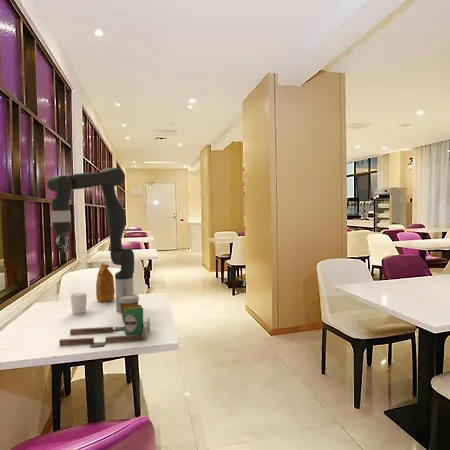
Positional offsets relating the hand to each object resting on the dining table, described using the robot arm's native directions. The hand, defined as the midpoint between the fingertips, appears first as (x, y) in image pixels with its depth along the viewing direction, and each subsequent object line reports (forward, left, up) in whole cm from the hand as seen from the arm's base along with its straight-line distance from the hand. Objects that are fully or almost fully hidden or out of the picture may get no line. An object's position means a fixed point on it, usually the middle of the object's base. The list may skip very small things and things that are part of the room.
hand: (63, 260), depth 159 cm
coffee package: (-54, +4, -32) cm, 63 cm away
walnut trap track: (+11, +20, -32) cm, 39 cm away
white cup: (-30, -4, -32) cm, 44 cm away
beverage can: (+9, +31, -32) cm, 46 cm away
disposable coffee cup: (-9, +26, -32) cm, 42 cm away
